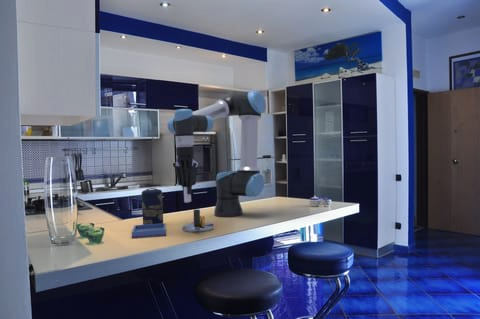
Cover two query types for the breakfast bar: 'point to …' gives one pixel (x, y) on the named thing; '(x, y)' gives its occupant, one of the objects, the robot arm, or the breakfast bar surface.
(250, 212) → the breakfast bar surface
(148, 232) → the tray
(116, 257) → the breakfast bar surface
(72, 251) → the breakfast bar surface
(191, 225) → the crank base
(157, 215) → the canister
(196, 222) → the crank
